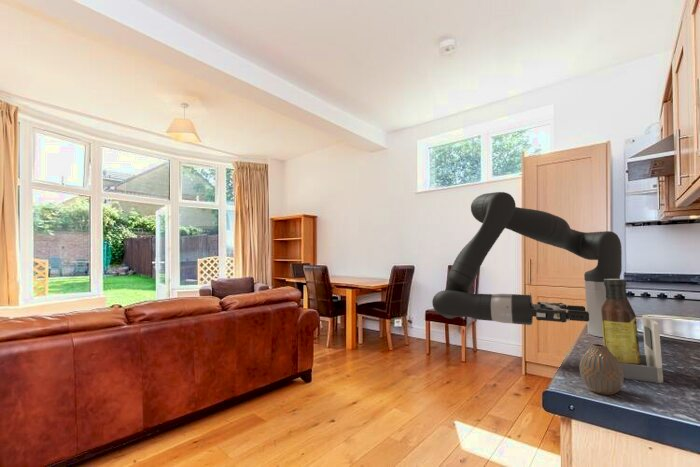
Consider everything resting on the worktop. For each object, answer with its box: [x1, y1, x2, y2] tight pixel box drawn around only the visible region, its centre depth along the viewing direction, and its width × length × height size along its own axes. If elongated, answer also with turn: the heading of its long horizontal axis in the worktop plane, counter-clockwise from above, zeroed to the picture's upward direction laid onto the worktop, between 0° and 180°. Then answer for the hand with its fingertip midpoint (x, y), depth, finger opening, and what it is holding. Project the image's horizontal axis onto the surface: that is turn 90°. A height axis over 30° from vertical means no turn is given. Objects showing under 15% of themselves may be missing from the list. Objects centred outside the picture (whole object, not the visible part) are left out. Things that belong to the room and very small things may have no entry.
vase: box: [578, 343, 625, 396], centre depth 66 cm, size 7×7×9 cm
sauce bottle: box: [601, 278, 641, 365], centre depth 76 cm, size 7×6×20 cm
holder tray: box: [620, 314, 664, 384], centre depth 76 cm, size 10×11×12 cm
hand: (587, 313), depth 79 cm, fingers open, 8 cm apart
